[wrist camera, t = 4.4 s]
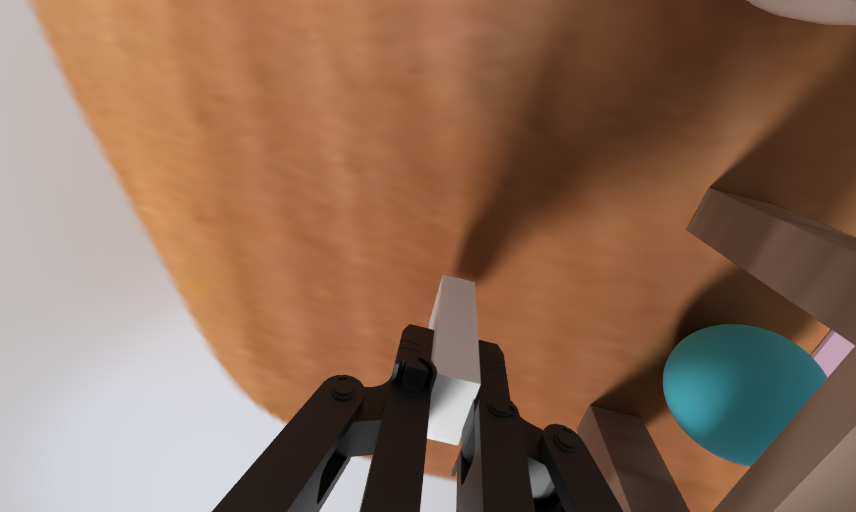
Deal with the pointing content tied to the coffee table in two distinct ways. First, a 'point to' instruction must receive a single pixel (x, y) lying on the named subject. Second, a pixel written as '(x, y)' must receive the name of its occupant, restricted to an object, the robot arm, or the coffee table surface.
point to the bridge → (814, 423)
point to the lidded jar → (812, 10)
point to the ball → (738, 388)
